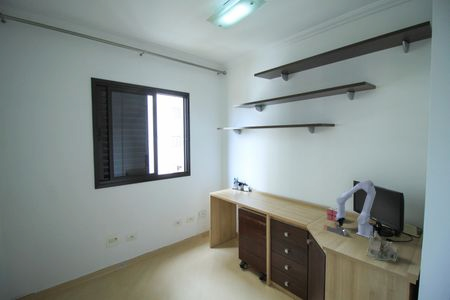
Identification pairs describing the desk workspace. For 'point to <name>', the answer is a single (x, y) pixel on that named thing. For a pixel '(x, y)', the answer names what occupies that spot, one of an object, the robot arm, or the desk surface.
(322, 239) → the desk surface
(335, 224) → the arm
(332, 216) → the puzzle cube
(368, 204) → the robot arm
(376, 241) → the ceramic cottage
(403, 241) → the desk surface
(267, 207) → the desk surface
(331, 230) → the tongs fixed
